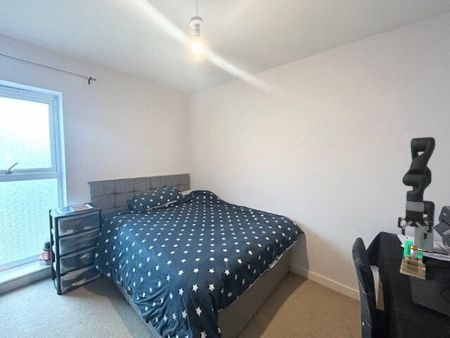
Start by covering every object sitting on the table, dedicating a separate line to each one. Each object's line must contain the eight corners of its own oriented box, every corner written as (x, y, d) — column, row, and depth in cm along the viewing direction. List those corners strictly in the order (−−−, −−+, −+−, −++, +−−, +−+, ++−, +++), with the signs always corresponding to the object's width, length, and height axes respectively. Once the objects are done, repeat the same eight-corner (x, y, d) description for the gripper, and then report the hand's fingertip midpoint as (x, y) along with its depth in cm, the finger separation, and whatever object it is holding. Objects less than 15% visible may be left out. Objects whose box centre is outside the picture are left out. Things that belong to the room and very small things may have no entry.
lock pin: (409, 261, 118) (409, 244, 118) (417, 263, 116) (417, 246, 115) (409, 263, 116) (409, 246, 115) (417, 265, 113) (417, 248, 113)
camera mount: (420, 263, 118) (421, 246, 117) (403, 259, 123) (403, 242, 123) (423, 256, 125) (423, 240, 125) (406, 252, 131) (407, 237, 131)
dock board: (402, 260, 121) (402, 252, 121) (425, 265, 115) (425, 257, 114) (400, 272, 108) (400, 263, 108) (425, 279, 102) (425, 270, 101)
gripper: (432, 209, 112) (431, 238, 113) (398, 206, 122) (398, 232, 123) (432, 212, 107) (431, 242, 107) (397, 208, 117) (396, 235, 117)
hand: (413, 237), depth 115 cm, fingers open, 8 cm apart
